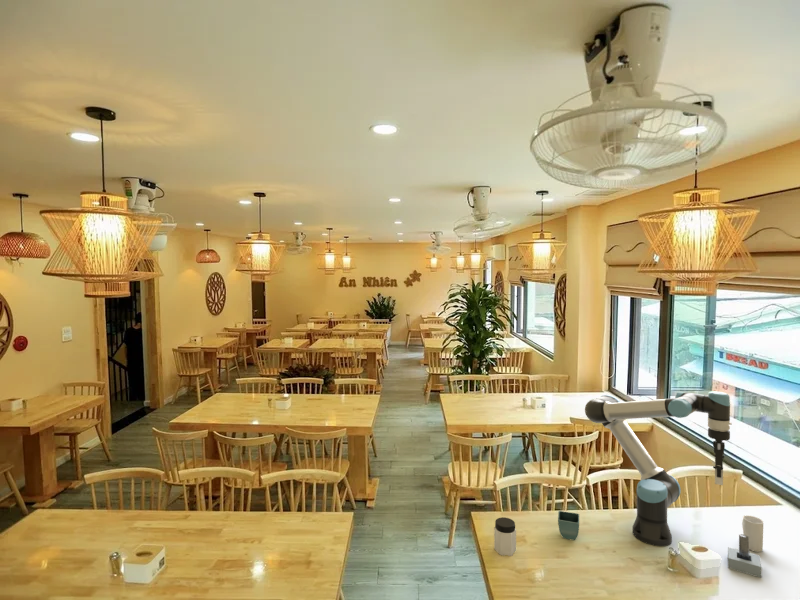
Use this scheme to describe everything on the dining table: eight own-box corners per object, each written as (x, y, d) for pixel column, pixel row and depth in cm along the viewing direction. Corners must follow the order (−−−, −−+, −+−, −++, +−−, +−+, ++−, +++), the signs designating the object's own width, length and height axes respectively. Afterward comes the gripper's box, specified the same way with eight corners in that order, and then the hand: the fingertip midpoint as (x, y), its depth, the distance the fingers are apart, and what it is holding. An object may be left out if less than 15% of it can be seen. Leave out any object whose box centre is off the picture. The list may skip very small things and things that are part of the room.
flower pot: (557, 539, 193) (557, 519, 192) (558, 529, 201) (558, 510, 201) (579, 544, 189) (579, 523, 189) (579, 533, 197) (579, 513, 197)
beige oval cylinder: (767, 553, 182) (767, 524, 182) (749, 551, 183) (749, 523, 182) (751, 539, 192) (751, 512, 191) (734, 538, 193) (734, 511, 192)
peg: (739, 567, 172) (739, 536, 172) (738, 563, 175) (738, 533, 175) (748, 570, 171) (748, 539, 171) (748, 566, 173) (748, 535, 173)
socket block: (728, 568, 172) (728, 558, 172) (727, 556, 179) (727, 547, 179) (761, 577, 166) (761, 567, 166) (759, 565, 173) (759, 555, 173)
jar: (519, 554, 182) (519, 525, 182) (503, 558, 179) (502, 529, 179) (507, 542, 191) (507, 515, 190) (491, 546, 188) (491, 518, 188)
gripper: (730, 438, 174) (730, 491, 174) (729, 423, 194) (729, 470, 195) (707, 435, 178) (707, 487, 179) (708, 420, 199) (708, 467, 199)
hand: (718, 478), depth 187 cm, fingers open, 13 cm apart
